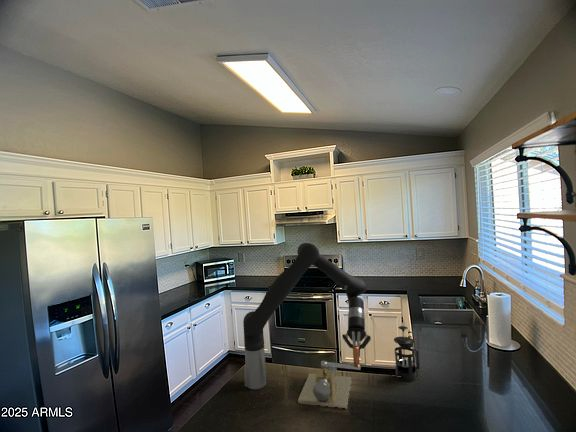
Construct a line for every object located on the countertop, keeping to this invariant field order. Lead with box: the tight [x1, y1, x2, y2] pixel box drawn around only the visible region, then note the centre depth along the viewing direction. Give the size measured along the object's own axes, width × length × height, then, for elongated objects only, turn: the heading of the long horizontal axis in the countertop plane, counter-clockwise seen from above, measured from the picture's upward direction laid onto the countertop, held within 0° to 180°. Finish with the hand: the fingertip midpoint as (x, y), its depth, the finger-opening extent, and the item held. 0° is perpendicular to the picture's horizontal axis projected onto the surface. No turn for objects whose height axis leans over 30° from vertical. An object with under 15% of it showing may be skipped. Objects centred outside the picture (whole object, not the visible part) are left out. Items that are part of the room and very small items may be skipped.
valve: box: [297, 366, 352, 410], centre depth 134 cm, size 20×22×12 cm
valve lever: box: [320, 345, 362, 371], centre depth 130 cm, size 17×3×9 cm, turn 71°
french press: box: [393, 325, 420, 382], centre depth 143 cm, size 12×9×23 cm
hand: (356, 357), depth 130 cm, fingers closed
